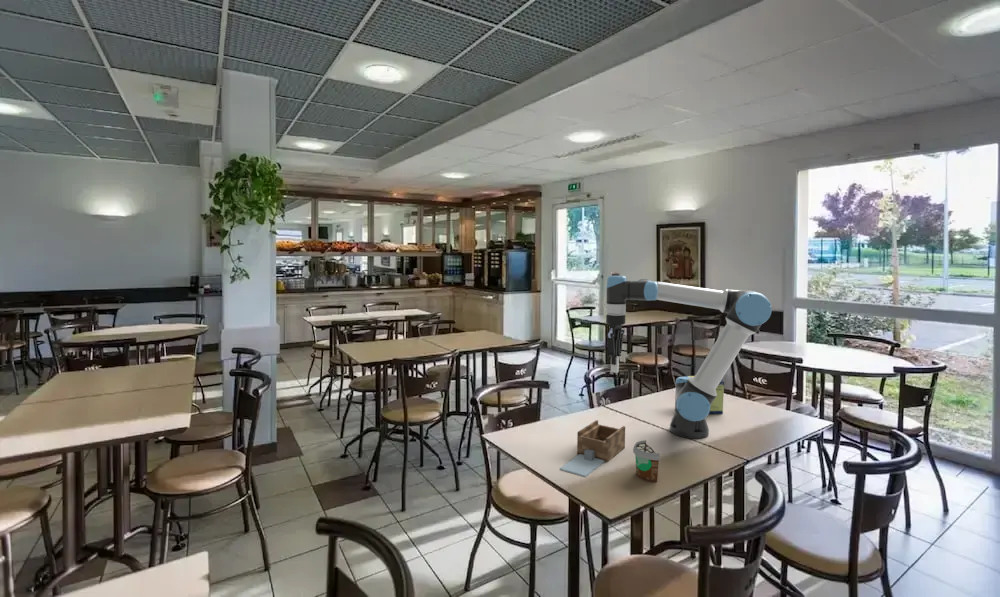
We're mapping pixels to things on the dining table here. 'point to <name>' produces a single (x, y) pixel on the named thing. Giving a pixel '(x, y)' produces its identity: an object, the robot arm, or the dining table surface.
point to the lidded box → (601, 440)
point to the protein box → (717, 399)
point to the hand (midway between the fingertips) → (614, 371)
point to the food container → (646, 462)
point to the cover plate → (583, 464)
